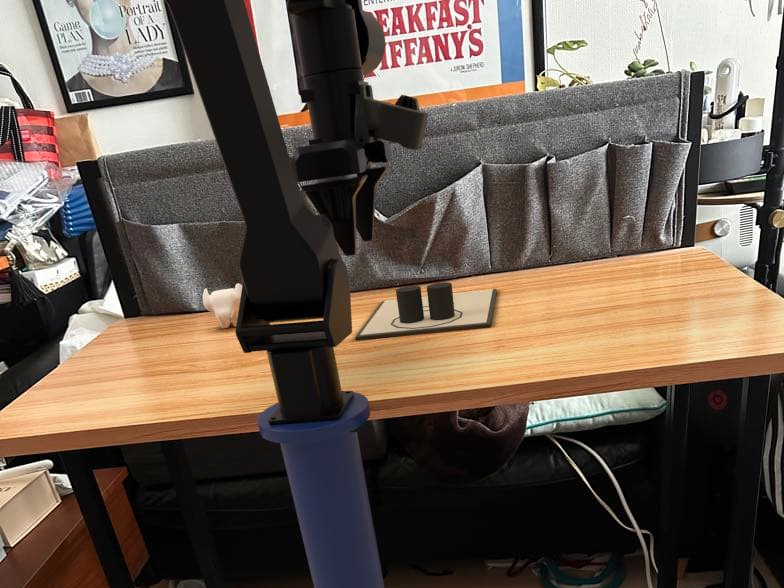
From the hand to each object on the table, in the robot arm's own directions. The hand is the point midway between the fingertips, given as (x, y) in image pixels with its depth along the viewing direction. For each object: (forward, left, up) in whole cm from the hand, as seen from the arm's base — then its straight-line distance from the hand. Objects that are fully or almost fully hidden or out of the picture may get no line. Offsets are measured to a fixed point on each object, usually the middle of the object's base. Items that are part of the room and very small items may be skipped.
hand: (359, 247), depth 76 cm
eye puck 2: (+15, -6, -12) cm, 20 cm away
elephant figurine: (+25, +27, -12) cm, 39 cm away
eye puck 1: (+15, -2, -12) cm, 19 cm away
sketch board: (+19, -4, -12) cm, 23 cm away
